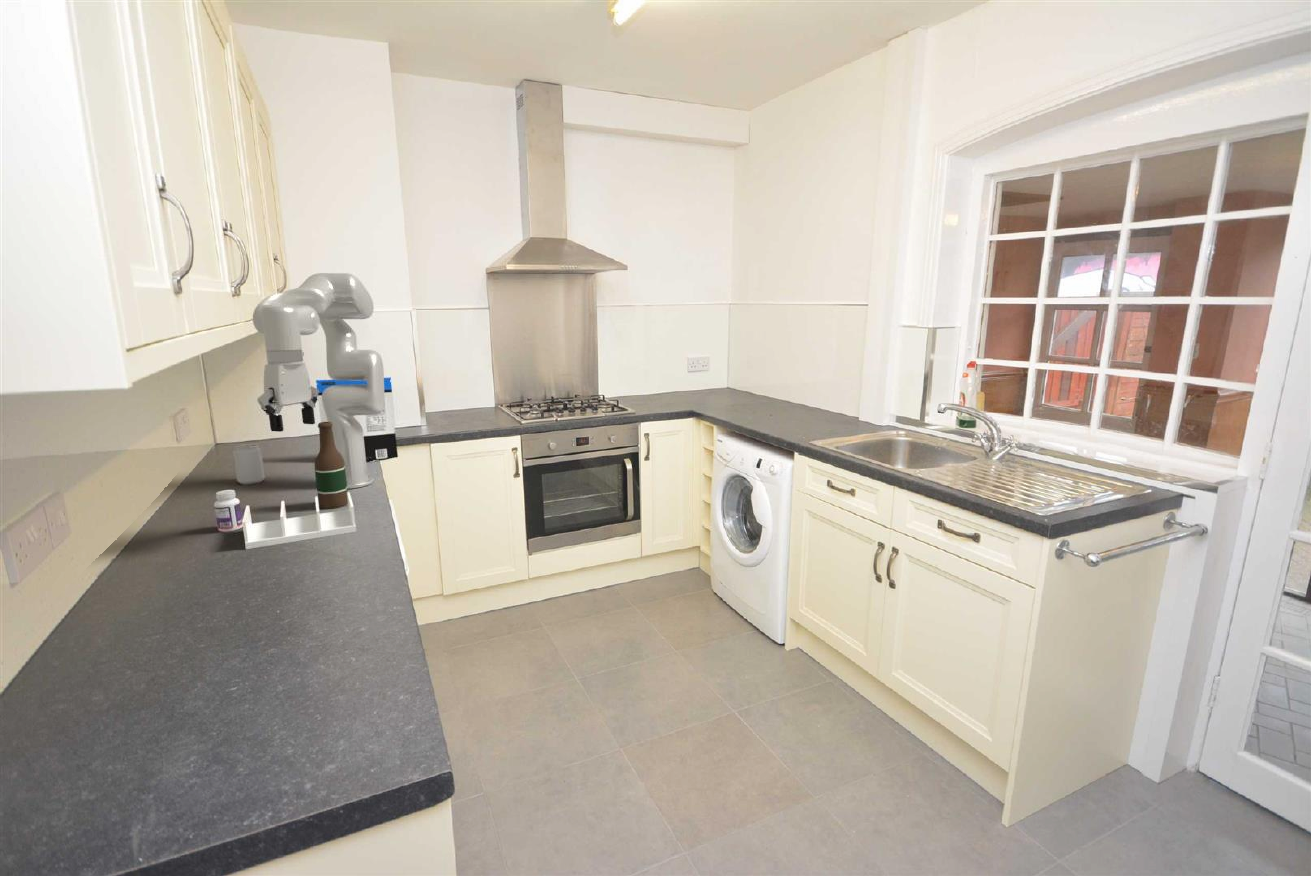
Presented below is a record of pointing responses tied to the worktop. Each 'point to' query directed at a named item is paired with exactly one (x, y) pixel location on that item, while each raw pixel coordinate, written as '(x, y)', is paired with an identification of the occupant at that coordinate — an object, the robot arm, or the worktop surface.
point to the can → (248, 464)
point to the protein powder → (370, 422)
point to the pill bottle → (228, 511)
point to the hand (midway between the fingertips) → (293, 427)
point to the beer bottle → (330, 471)
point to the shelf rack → (297, 526)
